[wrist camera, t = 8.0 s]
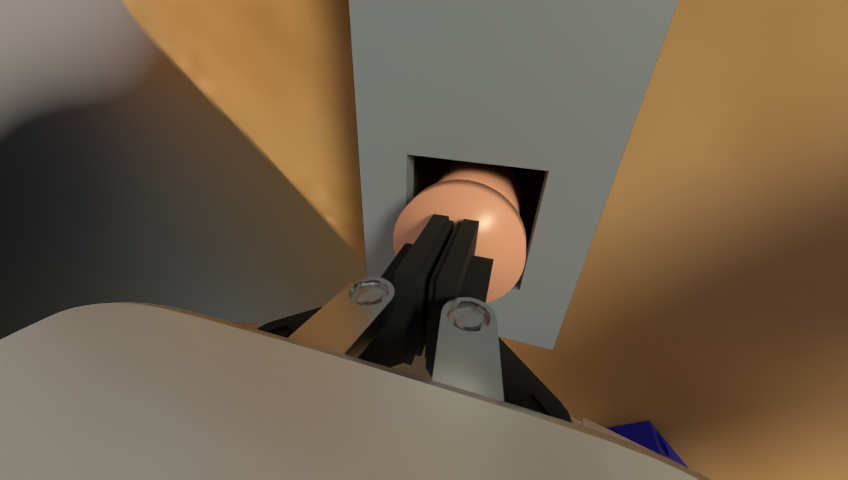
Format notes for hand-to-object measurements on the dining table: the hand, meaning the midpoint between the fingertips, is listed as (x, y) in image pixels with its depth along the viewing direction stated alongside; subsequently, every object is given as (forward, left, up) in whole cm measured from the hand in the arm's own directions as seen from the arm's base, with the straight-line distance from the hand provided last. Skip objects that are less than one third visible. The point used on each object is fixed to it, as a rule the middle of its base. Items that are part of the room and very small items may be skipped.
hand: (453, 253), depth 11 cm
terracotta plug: (0, 0, -6) cm, 6 cm away
